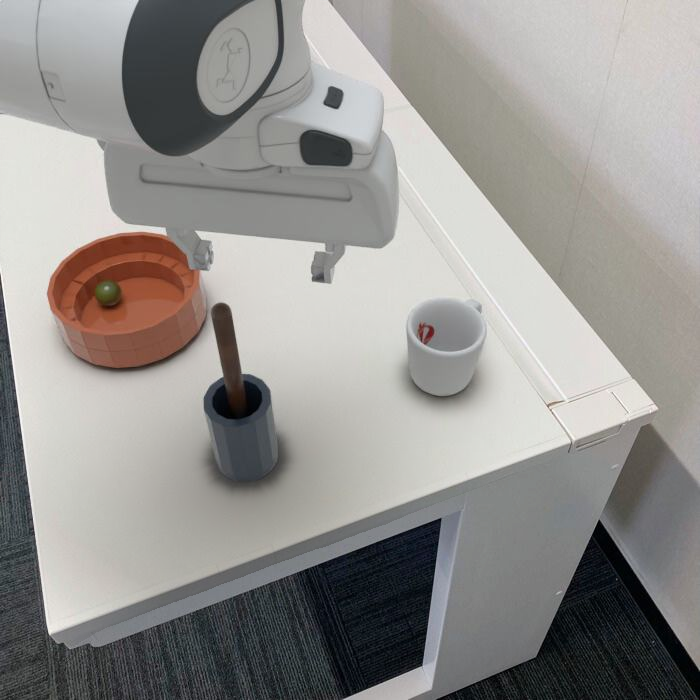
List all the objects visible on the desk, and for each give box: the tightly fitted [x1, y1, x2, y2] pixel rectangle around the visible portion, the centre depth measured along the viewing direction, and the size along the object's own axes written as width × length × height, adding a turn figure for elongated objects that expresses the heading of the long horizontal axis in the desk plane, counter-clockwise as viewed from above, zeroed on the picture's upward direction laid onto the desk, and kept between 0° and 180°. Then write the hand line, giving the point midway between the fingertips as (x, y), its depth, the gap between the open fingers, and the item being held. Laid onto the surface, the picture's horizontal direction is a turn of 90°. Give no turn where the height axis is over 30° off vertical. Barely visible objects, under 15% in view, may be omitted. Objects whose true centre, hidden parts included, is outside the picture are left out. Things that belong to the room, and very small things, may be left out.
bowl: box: [46, 231, 208, 369], centre depth 86 cm, size 16×16×6 cm
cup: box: [405, 297, 488, 397], centre depth 80 cm, size 11×8×8 cm
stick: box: [210, 301, 249, 420], centre depth 67 cm, size 2×2×20 cm
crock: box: [202, 373, 279, 483], centre depth 72 cm, size 6×6×9 cm
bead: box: [94, 280, 122, 306], centre depth 88 cm, size 3×3×3 cm
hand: (262, 271), depth 59 cm, fingers open, 8 cm apart
